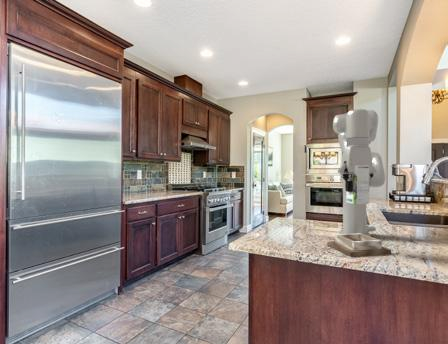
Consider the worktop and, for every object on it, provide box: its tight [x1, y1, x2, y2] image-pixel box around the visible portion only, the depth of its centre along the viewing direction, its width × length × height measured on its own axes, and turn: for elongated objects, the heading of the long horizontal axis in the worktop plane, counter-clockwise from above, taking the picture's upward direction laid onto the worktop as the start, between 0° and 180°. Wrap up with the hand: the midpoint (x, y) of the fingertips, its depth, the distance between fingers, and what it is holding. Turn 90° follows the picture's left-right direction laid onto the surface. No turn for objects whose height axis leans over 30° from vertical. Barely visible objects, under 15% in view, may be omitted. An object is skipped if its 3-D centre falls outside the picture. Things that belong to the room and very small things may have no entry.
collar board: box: [326, 233, 392, 258], centre depth 98 cm, size 16×14×4 cm
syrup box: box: [346, 165, 370, 205], centre depth 98 cm, size 6×6×14 cm
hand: (357, 191), depth 98 cm, fingers closed on syrup box, 6 cm apart
